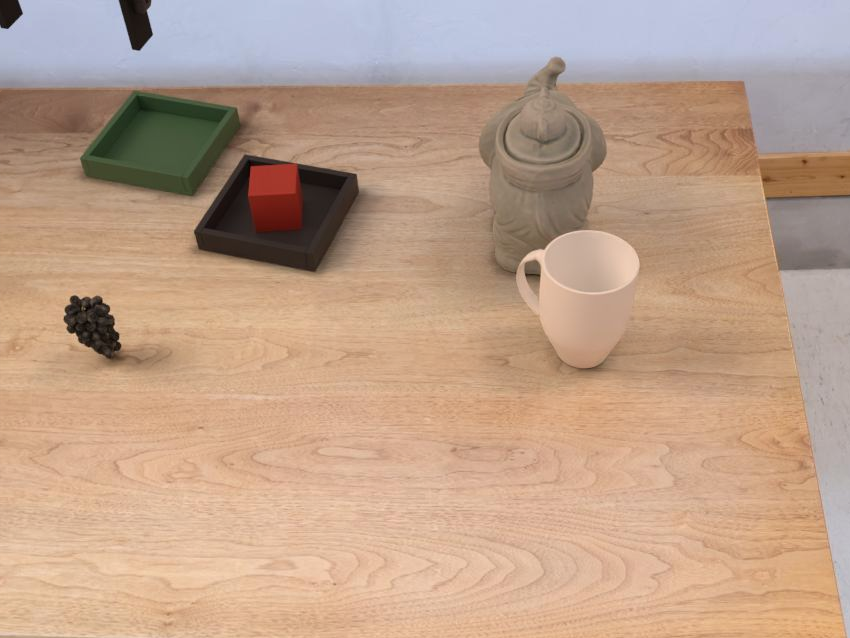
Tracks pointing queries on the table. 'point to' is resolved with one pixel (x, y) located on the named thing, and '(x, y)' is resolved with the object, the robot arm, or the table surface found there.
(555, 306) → the mug
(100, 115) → the table surface
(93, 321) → the fruit
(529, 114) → the lidded stone jar
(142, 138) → the green tray
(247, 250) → the black tray
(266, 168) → the red block
